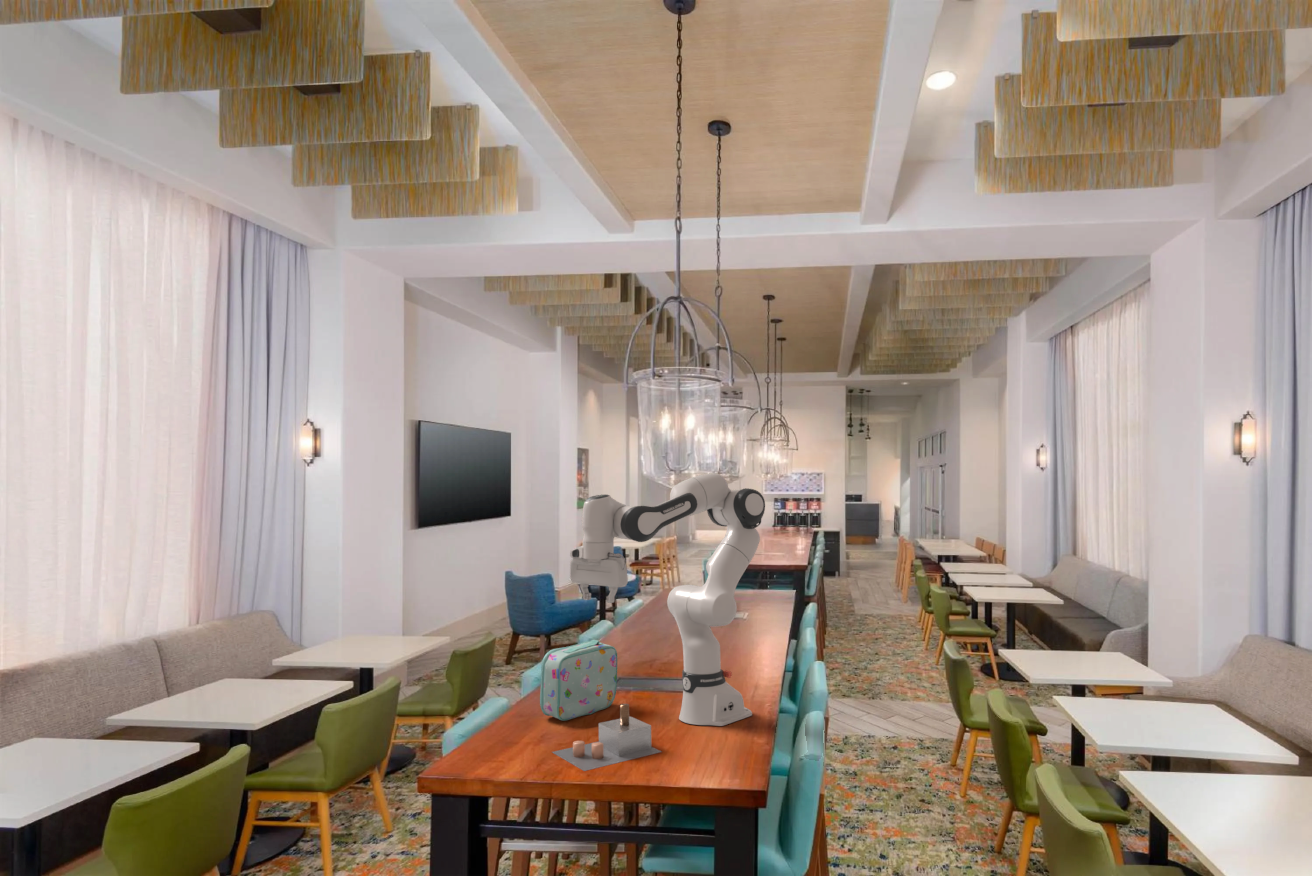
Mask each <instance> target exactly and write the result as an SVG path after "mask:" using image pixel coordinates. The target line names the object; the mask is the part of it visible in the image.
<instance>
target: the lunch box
mask: <svg viewBox="0 0 1312 876" xmlns="http://www.w3.org/2000/svg"><path fill="white" fill-rule="evenodd" d="M540 668H541V671H540V672H541V673H540V676H541V677H540V692H539V693H540V694H539V706H540V709H541V712H542V713H543V715H545V716H548V717H553V718H555V719H557V720H559V721H569V720H572V719H576V718H579V717H581V716H582V717H583V716H587V715H592V714H594V713H596V712H598V711H601V710H605V709H607V708H609V707H610V706H612V704H613V703H614V700H615V698H616V694H617V687H618V686H617V685H618V652H617V649H616V648H615V647H614V646H612V645H610V644H605V643H604V642H600V641H599V640H597V639H592V640H587V641H584V642H579V643H577V644H573V645H570V646H569V645H567V646H566V647H564V646H563V647H559V648H558V647H557V648H553V649H551V650H548V651H547V652H546V654H545V655H544V657H543V658H542V661H541V667H540Z"/></svg>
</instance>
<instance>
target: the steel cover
mask: <svg viewBox="0 0 1312 876" xmlns="http://www.w3.org/2000/svg"><path fill="white" fill-rule="evenodd" d="M598 741H599V742H601V743H603V748H604V749H605V750H607V751H609V752H611V753H613V754H615V755H617V756H618V757H620V756H624V755H628V754H632V753H636V752H640V751H644V750H648V749H651V747H652V725H651V724H649V723H646V722H645V721H643V720H640V719H637V718H635V717H633V716H630V704H629V703H621V704H619V718H616V719H612V720H607V721H602V722H598Z"/></svg>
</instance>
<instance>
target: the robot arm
mask: <svg viewBox="0 0 1312 876" xmlns="http://www.w3.org/2000/svg"><path fill="white" fill-rule="evenodd" d="M765 501H766V500H765V497H764V496H763V494H762V493H761V492H760V491H758V490H756V489H753V488H741V489H733V490H732V489H730V488H729V485H728V482H727V480H726V479H725V477H724V476H723V475H721V474H720V473H716V472H712V473H711V472H710V473H704V474H699V475H696V476H692V477H689V478H687V479H685V480H682V481H679V483H676V484H675V485H674V486H673V487H672V488H671V491H670V493H669V500H665V501H664V502H660V503H659V504H657V505H654V506H649V505H626V504H624V503H622V502H619V501H617V500H616V499H614V498H613V497H612V496H611V495H609V494H596V495H593V496H589V497H587V498H586V499H585V500H584V503H583V507H582V508H583V509H582V516H581V517H582V520H581V521H582V524H581V525H582V530H583V538H582V545H580V546H578V547H576V548H574V549H571V550H570V552H569V556H570V558H571V560H570V561H569V563H570V564H569V578H570V581H571V583H573V584H579V587H580V590H581V593H582V598H583V600H584V601H590V600H592V593H591V592H589V588H588V587H589V585H591V586H592V585H593V586H601V587H608V591H609V594H608V595H607V596H605V597H606V600H605V601H606V603H609V604H612V603H613V604H614V603H615V596H616V594H617V592H618V589H619V588H624V587H627V584H628V583H629V581H628V580H629V579H628V571H627V569H628V568H627V564H626V558H625V557H624V555H622V554H621V553H614V552H615V551H614V550H615V549H614V544H615V543H614V539H615V538H617V539H623V540H630V541H633V542H637V543H643V542H645V543H646V542H647V541H650V540H651V539H652V538H653V537H655V536H656V534H657V533H658V532H659V531H661V529H663V528H664V527H666V526H668V525H670V524H672V523H675V522H676V521H677V522H678V521H679V520H681V519H683V518H687V517H691V516H695V515H698V514H701V513H703V512H705V511H706V512H707V515H708V518H709V519H710V520H711V522H712V523H713V524H714V525H717V526H720V527H726V533H725V535H724V537H723V538H722V540H721V541H720V543H719V544H718V546H717V547H716V549H715V550H714V552H713V553H712V555H711V556H710V557H709V559H708V560H707V562H706V565H705V569H706V573H707V574H708V575H707V579H706V581H705V582H704V584H703V585H694V584H682V585H678V586H677V585H676V586H675V587H673V588H672V589H671V591H669V593H668V596H667V601H666V604H667V608H668V611H669V613H670V614H671V615H672V616H673V618H674V620H675V622H676V625H677V627H678V631H679V633H680V634H679V635H680V638H681V643H682V655H683V656H682V657H683V660H682V661H683V669H682V672H681V673H682V674H681V676H682V677H681V682H682V701H681V707H680V713H679V716H678V719H679V720H680V721H681V722H683V723H685V724H690V725H697V726H716V727H723V726H726V725H728V724H732V723H735V722H738V721H740V720H744V719H746V718H749V717H753V712H752V710H751V709H749V708H747V707H745V702H744V698H743V695H742V693H741V692H740V691H739V690H737V689H735V688H734V687H733V686H732V685H731V684H729V682H727V681H726V678H728V679H730V678H732V676H733V674H732V671H730V670H726V669H725V670H723V669H721V668H722V667H721V644H720V642H719V640H718V639H717V637H716V636H715V635H714V633H713V630H712V629H711V627H722V626H723V627H725V626H727V625H730V624H731V623H732V622H733V621H734V619H735V617H736V615H737V609H738V607H737V602H736V599H735V593H736V588H737V586H738V584H739V581H740V579H741V578H742V576H743V575H744V573H745V571H746V569H747V568H748V566H749V565H750V564H751V562H752V560H753V558H754V556H755V554H756V552H757V550H758V547H759V544H760V542H761V536H760V533H759V531H758V530H757V529H756V528H757V527H759V526H760V525H761V523H762V519H763V517H764V514H765V510H766V502H765Z"/></svg>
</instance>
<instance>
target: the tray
mask: <svg viewBox="0 0 1312 876" xmlns="http://www.w3.org/2000/svg"><path fill="white" fill-rule="evenodd" d="M662 752H663V751H661V750H659V749H657V748H655V747H653V746H651V749H648V750H644V751H640V752H636V753H632V754H628V755H624V756H620V757H618V756H617V755H615V754H613V753H611V752H609V751H607V750H605V749H604V748H603V743H601V742H599V740H598V741H595V742H594V741H593V742H590V743H585V741H584V740H575V741H572V747H568V748H567V747H566V748H564V749H560V750H554V751H551V753H553V754H554V755H556V756H557V757H559V758H561V759H562V760H565V761H566V762H568V763H569V764H571V765H573V766H574V767H576V768H578V769H579V770H582V771H583V772H586V771H591V770H595V769H599V768H602V767H607V766H610V765H615V764H619V763H622V762H628V761H630V760H631V761H632V760H635V759H639V758H643V757H647V756H651V755H655V754H660V753H662Z"/></svg>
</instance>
